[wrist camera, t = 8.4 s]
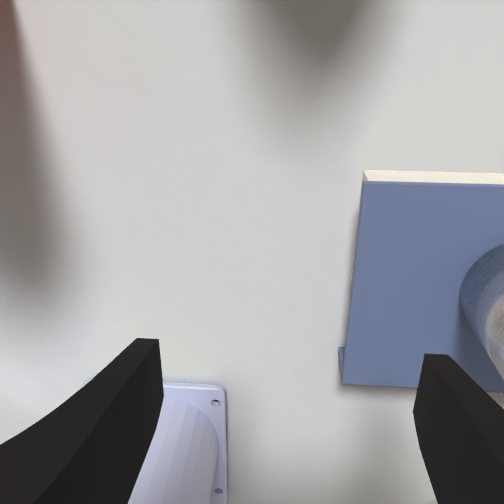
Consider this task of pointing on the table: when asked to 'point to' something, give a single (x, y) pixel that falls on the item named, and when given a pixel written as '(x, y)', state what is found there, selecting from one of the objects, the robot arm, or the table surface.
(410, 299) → the book
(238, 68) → the table surface
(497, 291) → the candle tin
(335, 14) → the table surface
